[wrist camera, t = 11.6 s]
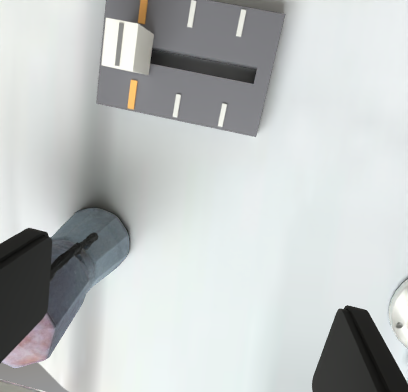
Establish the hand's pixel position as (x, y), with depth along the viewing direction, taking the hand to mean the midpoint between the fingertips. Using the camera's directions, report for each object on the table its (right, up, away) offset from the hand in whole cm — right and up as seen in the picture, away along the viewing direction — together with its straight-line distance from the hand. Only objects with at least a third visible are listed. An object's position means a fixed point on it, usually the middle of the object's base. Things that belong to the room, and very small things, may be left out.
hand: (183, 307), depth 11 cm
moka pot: (-13, -2, +34) cm, 37 cm away
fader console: (-1, +18, +27) cm, 32 cm away
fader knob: (-6, +19, +27) cm, 34 cm away
